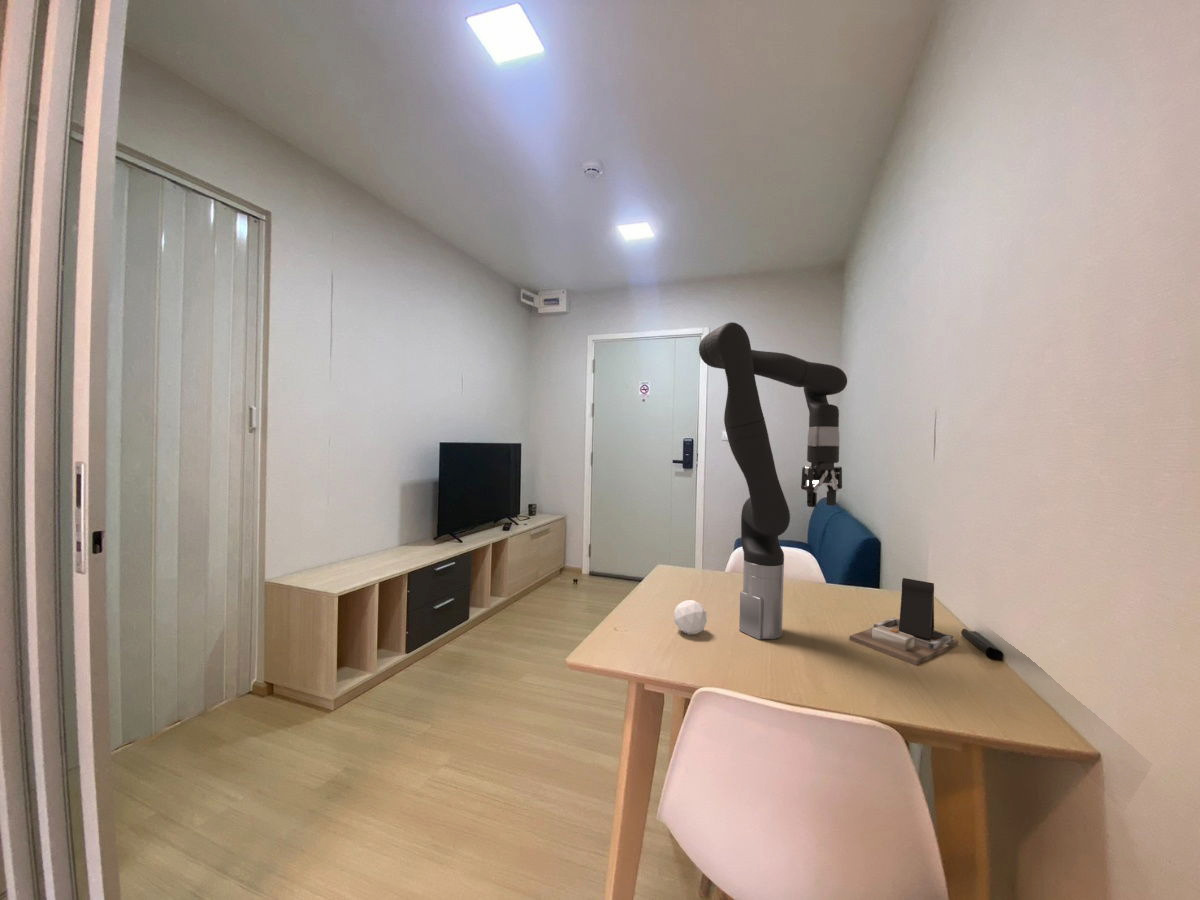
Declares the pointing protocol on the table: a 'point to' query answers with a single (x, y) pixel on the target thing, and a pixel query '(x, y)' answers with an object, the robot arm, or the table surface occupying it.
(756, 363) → the robot arm
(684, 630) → the geometric ball
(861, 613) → the table surface
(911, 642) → the mouse trap
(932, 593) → the black tent sign
